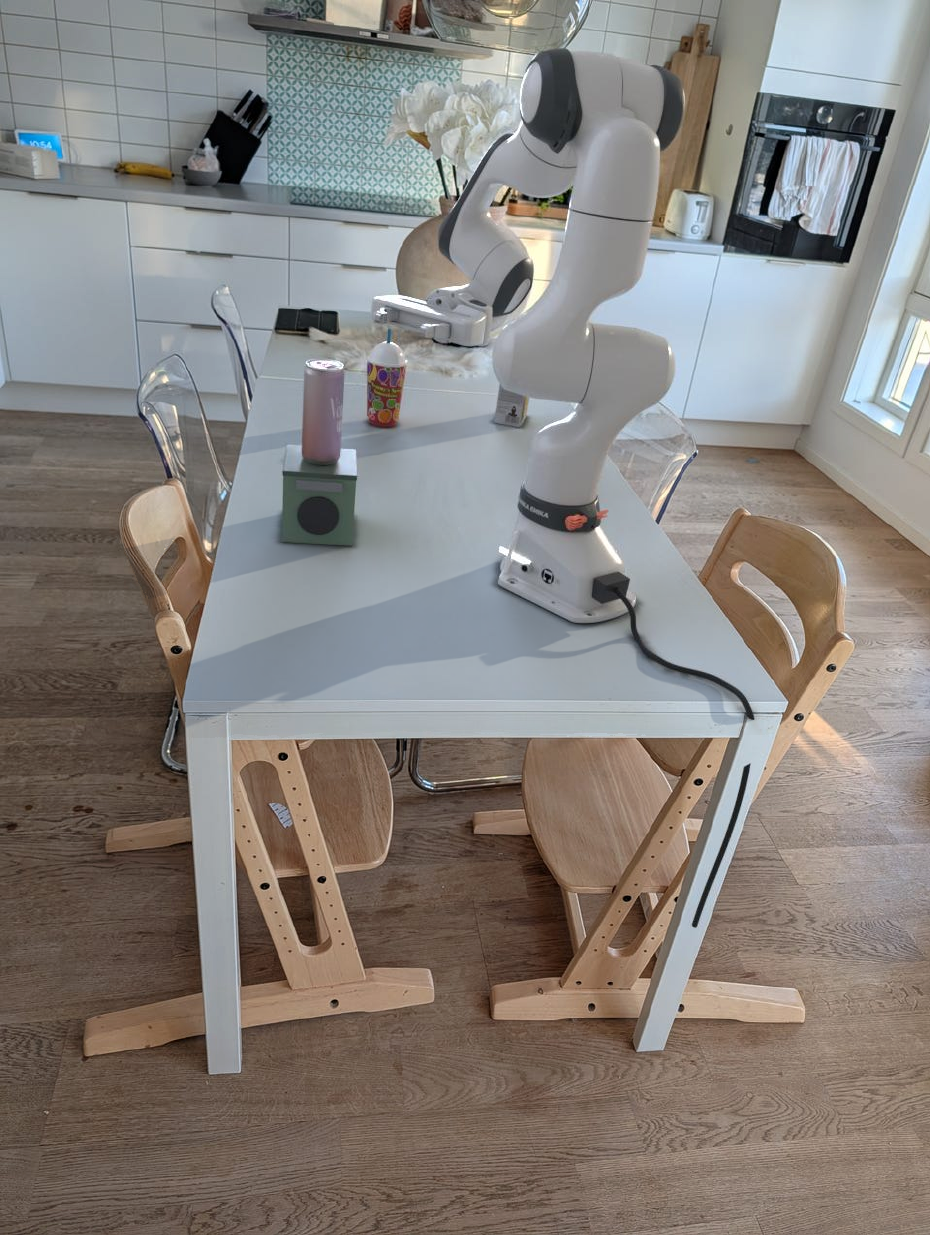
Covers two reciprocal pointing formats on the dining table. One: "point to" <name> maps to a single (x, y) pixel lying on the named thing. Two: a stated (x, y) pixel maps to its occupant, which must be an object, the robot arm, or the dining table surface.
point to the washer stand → (318, 499)
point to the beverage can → (322, 411)
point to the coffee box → (510, 408)
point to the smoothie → (385, 383)
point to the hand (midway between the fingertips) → (399, 325)
